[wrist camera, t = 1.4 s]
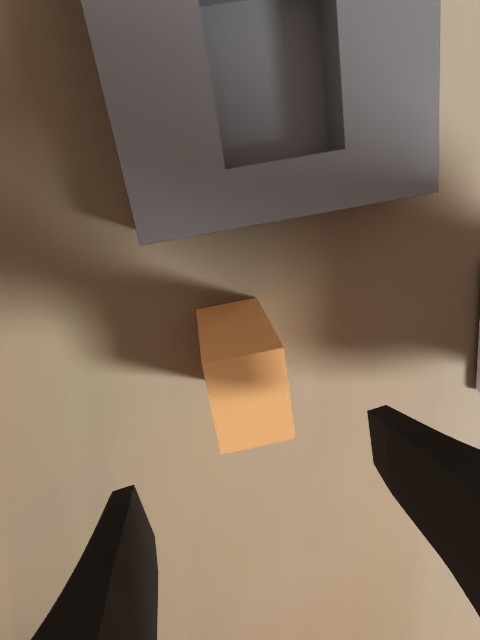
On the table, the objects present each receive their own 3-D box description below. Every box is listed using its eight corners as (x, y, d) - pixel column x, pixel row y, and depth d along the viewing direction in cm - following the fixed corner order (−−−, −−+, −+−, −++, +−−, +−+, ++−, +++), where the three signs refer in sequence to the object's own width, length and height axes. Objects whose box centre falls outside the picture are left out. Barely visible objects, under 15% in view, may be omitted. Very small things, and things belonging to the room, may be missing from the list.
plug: (256, 297, 21) (283, 347, 16) (267, 369, 23) (295, 438, 17) (195, 309, 21) (201, 364, 15) (210, 380, 23) (220, 454, 17)
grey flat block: (395, -229, 15) (448, -324, 12) (402, 187, 20) (440, 192, 17) (46, -189, 14) (11, -280, 11) (145, 232, 19) (139, 246, 16)
